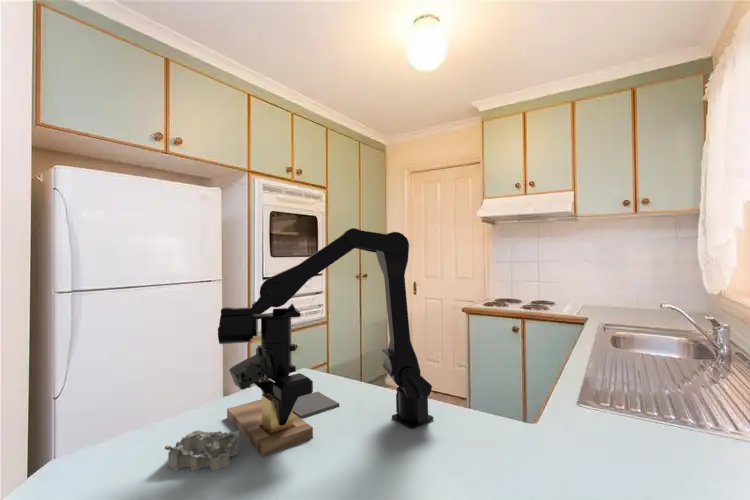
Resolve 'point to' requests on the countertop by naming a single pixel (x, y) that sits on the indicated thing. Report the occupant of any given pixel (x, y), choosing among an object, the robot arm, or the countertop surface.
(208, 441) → the egg carton
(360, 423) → the countertop surface
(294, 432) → the walnut board
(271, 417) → the brass plug
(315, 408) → the rubber mat
